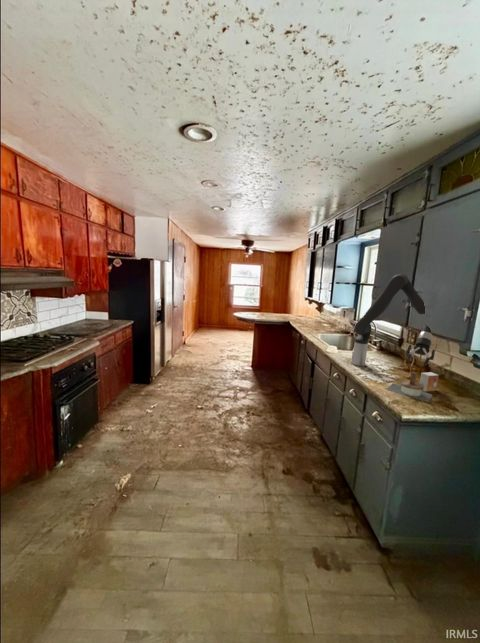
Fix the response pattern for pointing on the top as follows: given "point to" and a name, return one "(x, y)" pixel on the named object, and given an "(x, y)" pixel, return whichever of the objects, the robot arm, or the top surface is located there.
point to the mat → (397, 389)
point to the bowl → (411, 391)
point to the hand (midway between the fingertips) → (417, 362)
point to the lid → (412, 383)
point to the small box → (429, 381)
